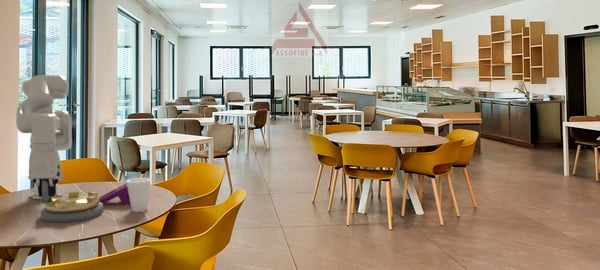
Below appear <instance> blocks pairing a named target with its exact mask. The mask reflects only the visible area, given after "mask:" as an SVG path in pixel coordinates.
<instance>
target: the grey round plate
mask: <svg viewBox="0 0 600 270" xmlns="http://www.w3.org/2000/svg"><path fill="white" fill-rule="evenodd" d="M103 213H104V204H103V203H101V202H99V205H98V206H97V207H95V208H93V209H90V210H86V211H81V212H75V213H61V214H58V213H49V212H46V211H45V207H44V208H42V209H41V210H40V219H41V221H42V222H45V223H51V224H52V223H53V224H54V223H55V224H60V223H61V224H62V223H63V224H64V223H66V224H67V223H75V222H81V221H86V220H91V219H93V218H97V217H98V216H101V215H102V214H103ZM96 216H97V217H96Z"/></svg>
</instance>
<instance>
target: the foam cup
mask: <svg viewBox="0 0 600 270" xmlns="http://www.w3.org/2000/svg"><path fill="white" fill-rule="evenodd" d="M126 183H127V187H128V193H129V198H130V204H129V205H130V207H131V211H132V212H134V213H137V212H139V213H140V212H145V211H147V210H148V205H149V199H150V195H149V194H150V188H151V179H150V178H147V177H138V178H130V179H127V180H126Z"/></svg>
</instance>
